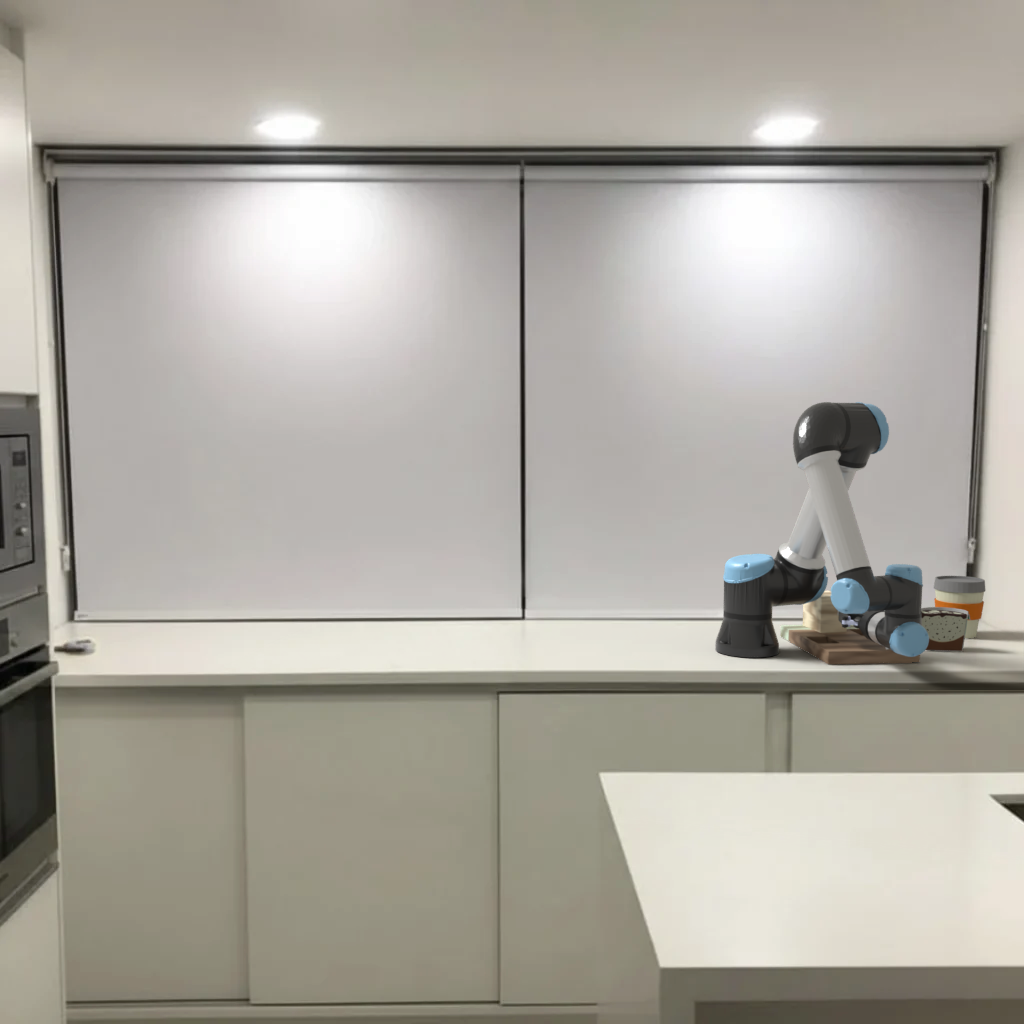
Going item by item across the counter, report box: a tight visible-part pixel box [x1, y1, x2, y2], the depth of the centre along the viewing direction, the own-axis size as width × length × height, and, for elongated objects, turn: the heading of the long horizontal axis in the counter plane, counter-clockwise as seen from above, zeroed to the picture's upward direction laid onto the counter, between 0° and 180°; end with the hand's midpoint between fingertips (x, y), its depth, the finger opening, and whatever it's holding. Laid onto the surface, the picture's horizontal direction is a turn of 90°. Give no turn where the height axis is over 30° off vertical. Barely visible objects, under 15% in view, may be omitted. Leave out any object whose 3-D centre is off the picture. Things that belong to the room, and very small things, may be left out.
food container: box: [921, 606, 970, 652], centre depth 260 cm, size 12×6×10 cm, turn 84°
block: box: [802, 590, 847, 633], centre depth 270 cm, size 10×7×9 cm
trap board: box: [780, 624, 921, 665], centre depth 260 cm, size 32×22×3 cm
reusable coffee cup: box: [933, 575, 986, 639], centre depth 276 cm, size 12×13×15 cm
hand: (840, 609), depth 263 cm, fingers closed
